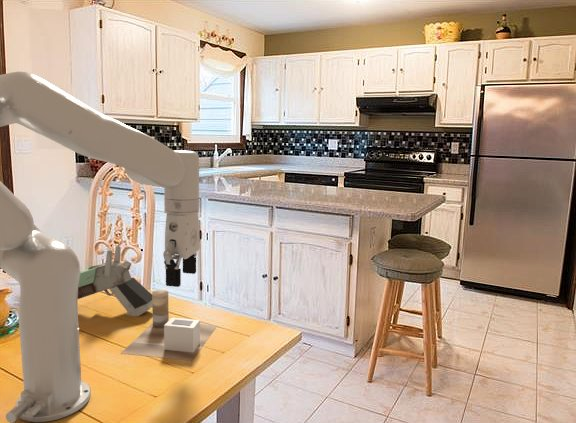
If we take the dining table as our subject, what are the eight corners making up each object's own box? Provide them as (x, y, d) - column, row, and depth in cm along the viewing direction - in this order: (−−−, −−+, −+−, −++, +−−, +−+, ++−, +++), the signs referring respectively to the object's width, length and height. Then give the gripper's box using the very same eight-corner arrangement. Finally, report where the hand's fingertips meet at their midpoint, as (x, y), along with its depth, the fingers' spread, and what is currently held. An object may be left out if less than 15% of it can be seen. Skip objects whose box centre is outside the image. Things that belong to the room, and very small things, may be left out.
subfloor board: (191, 365, 99) (191, 360, 98) (120, 358, 101) (120, 353, 101) (217, 329, 117) (217, 325, 117) (156, 323, 120) (156, 319, 119)
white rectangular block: (193, 352, 102) (193, 327, 101) (164, 349, 103) (164, 324, 102) (199, 343, 107) (199, 319, 106) (172, 340, 108) (171, 317, 106)
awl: (164, 329, 114) (164, 295, 112) (150, 327, 114) (149, 294, 113) (171, 322, 118) (170, 290, 116) (156, 321, 118) (156, 289, 117)
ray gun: (149, 314, 119) (121, 245, 117) (50, 345, 125) (21, 280, 123) (160, 304, 126) (134, 239, 124) (66, 334, 132) (39, 273, 130)
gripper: (183, 213, 90) (183, 293, 93) (210, 201, 107) (209, 269, 110) (148, 210, 91) (149, 290, 94) (180, 199, 108) (180, 267, 111)
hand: (181, 279), depth 102 cm, fingers open, 9 cm apart
